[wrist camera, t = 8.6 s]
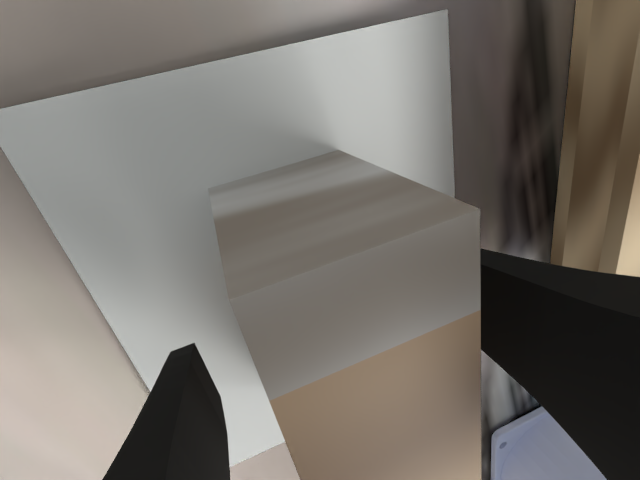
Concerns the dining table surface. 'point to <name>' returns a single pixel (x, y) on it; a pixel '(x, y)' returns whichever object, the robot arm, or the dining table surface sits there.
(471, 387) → the block
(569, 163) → the carton
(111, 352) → the dining table surface
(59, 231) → the grey mat
